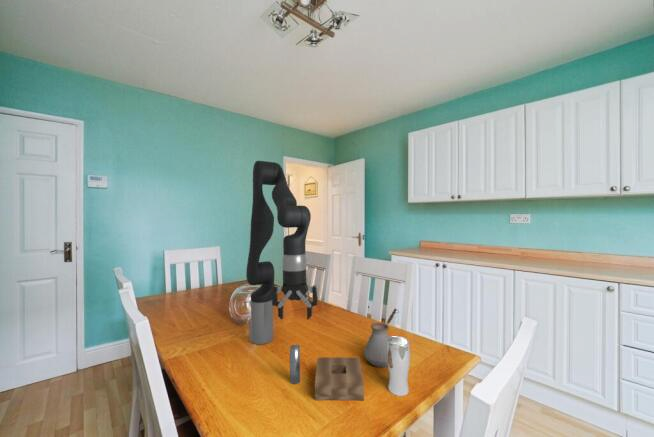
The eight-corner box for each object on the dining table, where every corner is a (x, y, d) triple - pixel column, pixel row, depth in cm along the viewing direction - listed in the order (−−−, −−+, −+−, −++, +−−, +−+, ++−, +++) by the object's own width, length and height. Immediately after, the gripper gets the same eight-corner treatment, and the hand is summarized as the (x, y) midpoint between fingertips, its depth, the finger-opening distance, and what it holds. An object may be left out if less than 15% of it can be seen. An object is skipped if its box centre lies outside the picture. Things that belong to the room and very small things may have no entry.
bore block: (315, 400, 79) (314, 382, 79) (317, 372, 93) (317, 357, 93) (363, 400, 79) (363, 383, 79) (359, 372, 93) (359, 357, 93)
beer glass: (383, 383, 87) (383, 336, 86) (405, 381, 87) (405, 334, 87) (390, 397, 80) (390, 346, 79) (414, 396, 80) (413, 345, 80)
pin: (289, 384, 87) (288, 349, 86) (290, 378, 90) (290, 344, 90) (299, 384, 86) (299, 349, 86) (300, 378, 90) (300, 344, 89)
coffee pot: (388, 374, 91) (387, 329, 91) (358, 363, 98) (357, 321, 98) (410, 348, 109) (410, 311, 108) (383, 340, 115) (383, 305, 115)
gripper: (269, 270, 84) (270, 323, 84) (316, 270, 84) (316, 322, 84) (274, 265, 92) (275, 314, 92) (317, 265, 91) (318, 314, 92)
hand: (295, 318), depth 88 cm, fingers open, 8 cm apart
